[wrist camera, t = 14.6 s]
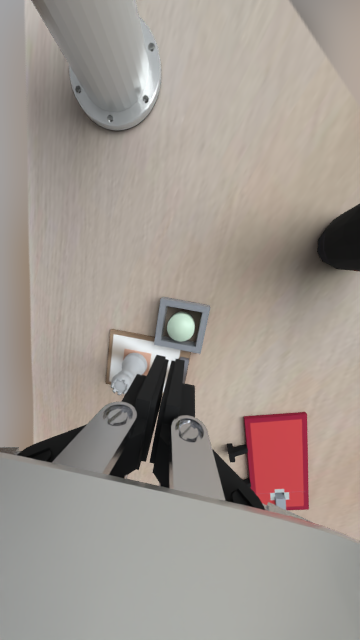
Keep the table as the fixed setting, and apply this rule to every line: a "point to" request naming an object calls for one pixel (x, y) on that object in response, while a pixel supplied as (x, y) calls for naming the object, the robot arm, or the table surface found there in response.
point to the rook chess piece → (128, 372)
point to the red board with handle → (277, 458)
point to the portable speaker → (342, 241)
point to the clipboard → (141, 344)
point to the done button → (181, 326)
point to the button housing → (186, 345)
